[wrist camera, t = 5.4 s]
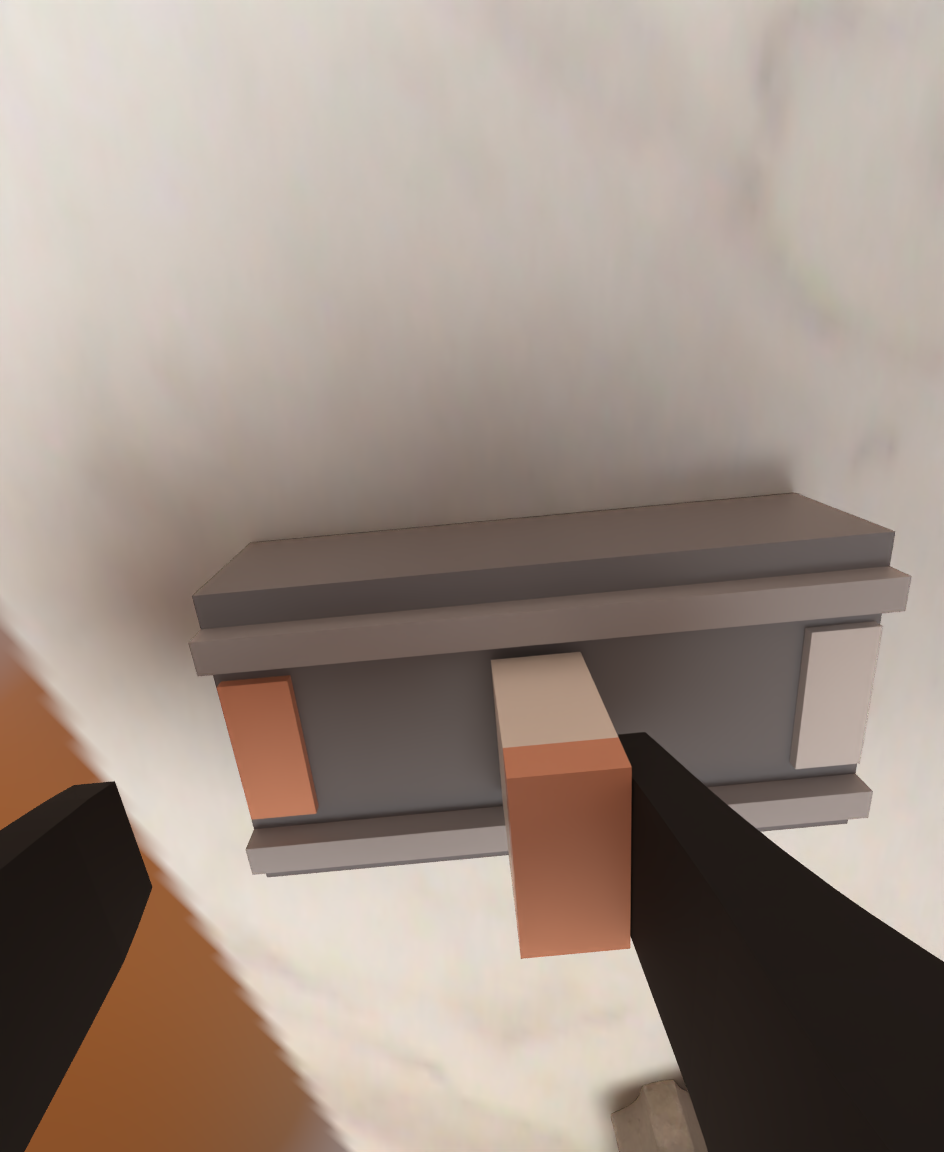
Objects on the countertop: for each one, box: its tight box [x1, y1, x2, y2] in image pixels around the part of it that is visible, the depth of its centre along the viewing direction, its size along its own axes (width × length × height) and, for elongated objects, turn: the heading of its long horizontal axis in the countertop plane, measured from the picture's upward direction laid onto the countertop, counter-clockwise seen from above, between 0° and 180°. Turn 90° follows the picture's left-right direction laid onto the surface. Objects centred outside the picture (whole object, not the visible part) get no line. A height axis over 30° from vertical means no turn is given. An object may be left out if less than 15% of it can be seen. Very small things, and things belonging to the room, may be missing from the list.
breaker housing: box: [189, 493, 911, 877], centre depth 12 cm, size 12×6×4 cm, turn 95°
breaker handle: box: [491, 652, 632, 959], centre depth 9 cm, size 2×3×3 cm, turn 5°
